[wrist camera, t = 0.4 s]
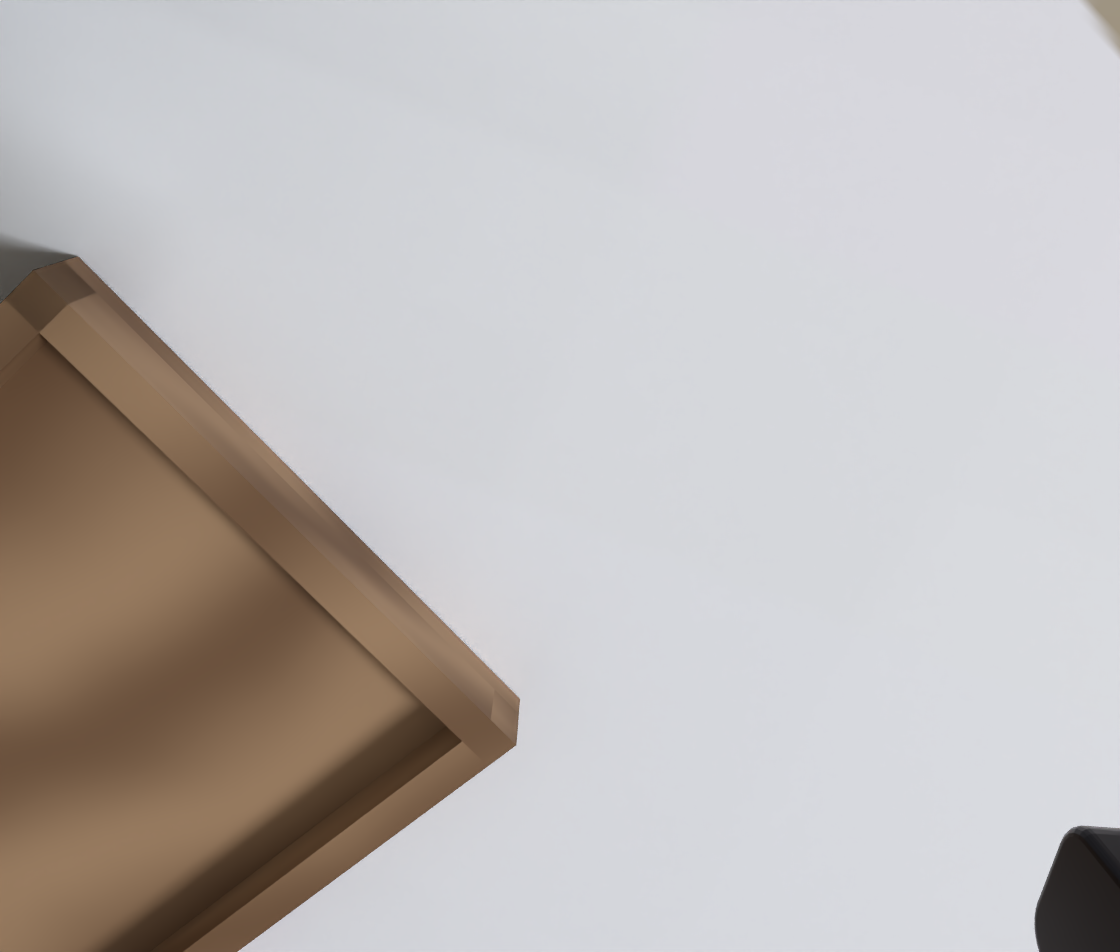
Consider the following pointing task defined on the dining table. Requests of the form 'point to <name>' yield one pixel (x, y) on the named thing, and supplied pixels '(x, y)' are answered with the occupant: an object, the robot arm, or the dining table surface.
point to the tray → (192, 654)
